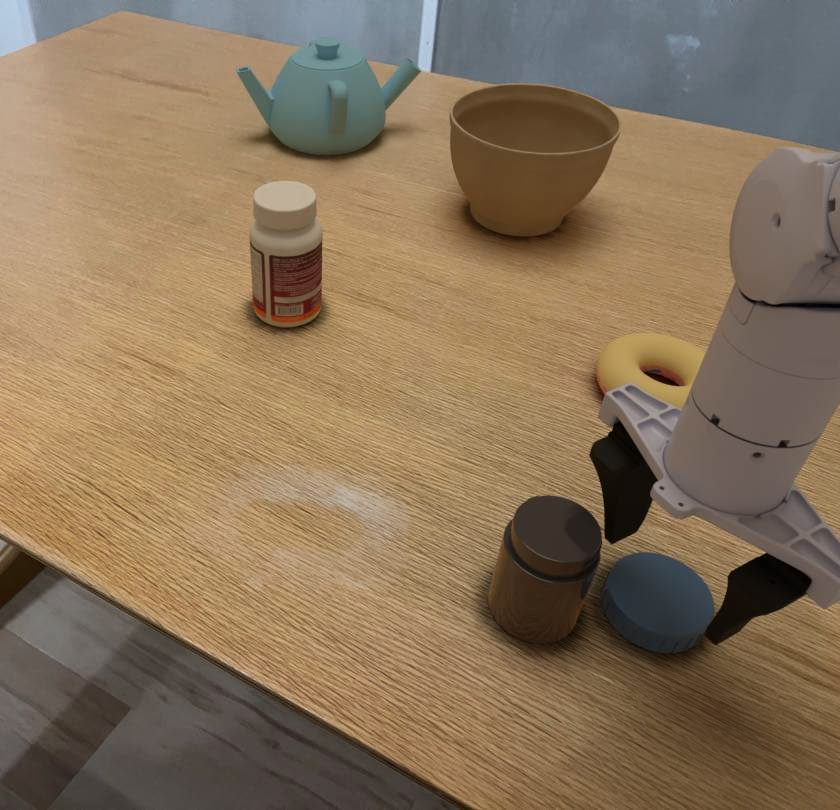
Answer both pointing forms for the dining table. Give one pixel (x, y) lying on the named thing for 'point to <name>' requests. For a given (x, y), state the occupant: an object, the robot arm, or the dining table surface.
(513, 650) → the dining table surface
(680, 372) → the donut
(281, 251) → the pill bottle
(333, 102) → the teapot
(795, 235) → the robot arm
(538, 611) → the jar
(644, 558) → the lid
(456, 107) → the planter bowl
